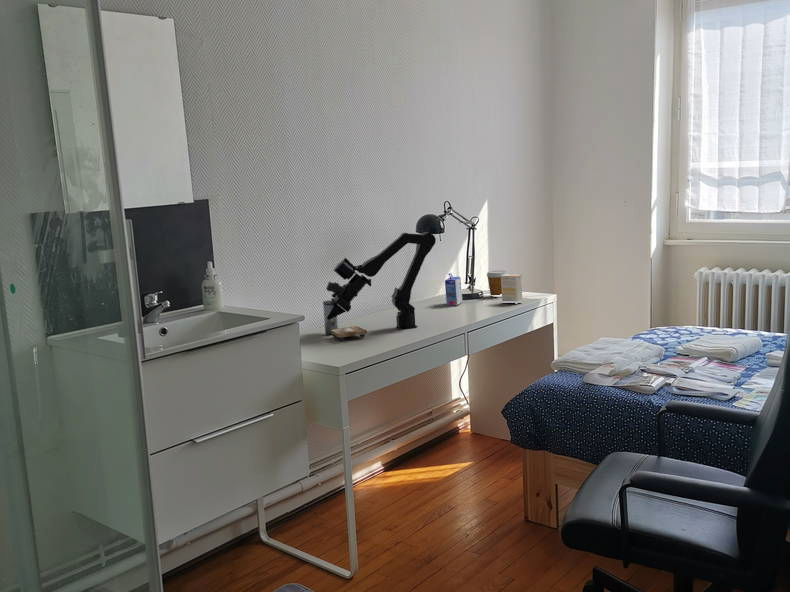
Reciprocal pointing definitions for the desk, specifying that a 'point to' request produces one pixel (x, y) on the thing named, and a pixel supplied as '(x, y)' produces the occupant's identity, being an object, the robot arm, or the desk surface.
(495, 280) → the disposable coffee cup
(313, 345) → the desk surface
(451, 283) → the ink cartridge box
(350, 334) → the frame
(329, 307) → the canister
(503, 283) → the supplement box
